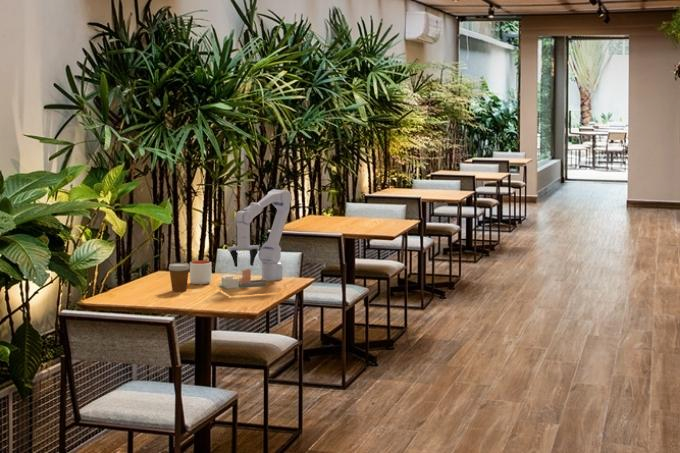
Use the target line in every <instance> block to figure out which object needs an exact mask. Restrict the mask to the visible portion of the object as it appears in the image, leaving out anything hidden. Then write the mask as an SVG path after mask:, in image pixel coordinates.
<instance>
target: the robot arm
mask: <svg viewBox="0 0 680 453" xmlns="http://www.w3.org/2000/svg"><path fill="white" fill-rule="evenodd" d="M292 199H293V197H292V193H291V191H290V190H286V189H285V190H284V189H275V188H273V189H271V190H270V191H268V192H267V194H266V195H265V196H264V197H263V198H261V199H260V200H258V202H250V204H249V205H248V206H246V207H244V208H243V209H242V210H238V211H237V212H236V213H235V216H234V221H235V224H236V227H237V231H236V232H237V241H236V242H237V245H234V246H233V245H232V246H227V251H228V252H229V254H230V256H231V257H232V260H233V266H234V267H235V268H236V267H238V256H239V255H238V254H239V253H238V252H240V251H249V264H250V266H251V267H253V266H254V261H255V258H256V256H257V257H258V259H259V260H260V263H261V280H263V281H276V280H277V281H279V280H283V264H282V263H281V262H280V259H281V257H282V256H281V255H282V254H281V253H282V248H281V246H280V241H281V238H282V235H283V232H284V228H285V226H286V221H287V219H288V216H289V213H290V207H291V203H292ZM270 204H272V206H274V208H276V213H275V216H274V219H273V223H272V226H271V228H270V229H271V230H270V232H269V235H268V238H267V241H266V242H264V243H263V244H262V245H261V247H260V245H258V244H256V245H255V244H251V234H250V233H251V231H250V230H251V227H250V226H251V225H250V224H251V223H252V221H253V219H254V218H255V217H256V216H258V215H259V214H261V213H262V209H264V208H265V207H267V206H268V205H270Z"/></svg>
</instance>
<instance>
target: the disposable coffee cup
mask: <svg viewBox="0 0 680 453" xmlns="http://www.w3.org/2000/svg"><path fill="white" fill-rule="evenodd" d="M168 270H169V275H170V283H171V284H170V285H171V291H172V292H173V291H174V293H183V292H187V289H188V288H187V287H188V280H189V279H188V278H189V273H190V263H188V262H187V263H185V262H175V263H170V264H169V266H168Z"/></svg>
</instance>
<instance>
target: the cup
mask: <svg viewBox="0 0 680 453" xmlns="http://www.w3.org/2000/svg"><path fill="white" fill-rule="evenodd" d="M189 267H190V268H189V282H190V283H191V284H193V285H196V284H205V285H208V284H209V285H210V284H211V282H212V262H211V261H209V260H193V261H192V260H191V261H190V262H189Z"/></svg>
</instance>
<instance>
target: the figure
mask: <svg viewBox="0 0 680 453" xmlns="http://www.w3.org/2000/svg"><path fill="white" fill-rule="evenodd" d="M241 272H242V273H241V274H242V275H241V277H238V279H239V284H240V285H241V286H243V284H244V283H251V280H252V279H251V277H252V276H251V273H252V271H251V269H249V268H245V269H244V268H243V269H242V271H241Z"/></svg>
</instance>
